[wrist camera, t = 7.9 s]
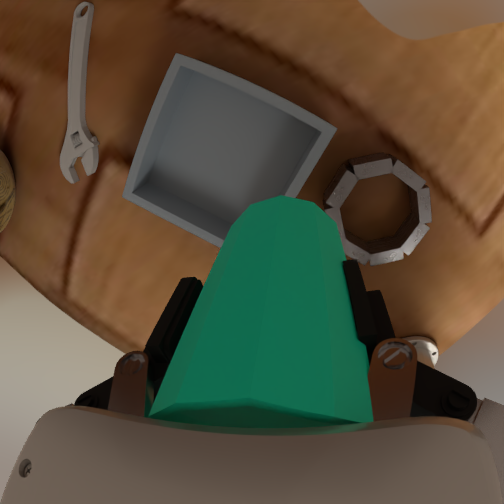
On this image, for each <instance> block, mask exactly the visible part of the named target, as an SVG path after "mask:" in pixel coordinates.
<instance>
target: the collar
mask: <svg viewBox="0 0 504 504" xmlns="http://www.w3.org/2000/svg"><path fill="white" fill-rule="evenodd" d="M348 161H349V165H350V168H349V167H347V166H346V165H344V164H342V165H341V167H340V168H339V170H338V172H337V173H336V175H335V176H334V178H333V180H332V181H331V183H330V184H329V186H328V187H327V189H326V190H325V192H324V198H325V200H323V205H324V209H325V213H326V214H327V215H328V216H329V217H330V218H331V219H333V220H334V221H335V222H336V224H337V227H338V231H339V234H340V238H341V242H342V245H343V249H344V253H345V254H346V255H347V256H349V257H351V258H353V259H357V261H358V262H360V263H361V264H363V265H365V264H366V263H367V262H368V261H369V263H370V266H374V265H379V264H383V263H388V262H392V261H396V260H401V259H403V252H404V253H406V254H407V255H410V253H411V252H412V251H413V249H414V248H415V247H416V246H417V244H418V243H419V242H420V240H421V239H422V238H423V237H424V235H425V234H426V233H427V231H428V230H429V229H430V228H429V227H428V226H427V224H426V223H430V222H432V219H431V204H430V192H429V187H428V186H427V185H425V183H426V181H425V180H423V179H422V178H421V177H420V176H418V175H417V174H416V173H415V172H413V171H412V170H411V169H410V168H408V167H407V166H406V165H404V164H403V163H402V162H400V161H399V160H398V159H396V158H395V157H393V156H392V155H390V154H389V155H388V156H387V155H386V154H385V153H378V154H373V155H368V156H363V157H358V158H353V159H349V160H348ZM389 173H393V174H394V175H395V176H397V177H398V178H399V179H401V180H402V181H403V182H405V183H406V184H407V185H408V190H409V199H410V208H411V213H410V214H409V216H408V217H407V219H406V220H405V221H404V223H403V224H402V225H401V227H400V228H399V230H398V231H397V232H396V234H395V235H394V236H391V237H386V238H382V239H377V240H373V241H368V242H365V241H364V240H362V239H360V238H359V237H357V236H355V235H354V234H352V233H350V232H349V231H347V230H345V229H344V228H343V223H342V219H341V214H340V209H339V208H340V207H341V205H342V204H343V202H344V201H345V199H346V198H347V196H348V195H349V193H350V192H351V190H352V189H353V187H354V186H355V184H356V183H357V181H358V180H360V179H365V178H369V177H374V176H379V175H384V174H389Z"/></svg>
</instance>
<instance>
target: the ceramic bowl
mask: <svg viewBox="0 0 504 504" xmlns="http://www.w3.org/2000/svg"><path fill="white" fill-rule="evenodd" d="M15 197H16V184H15V178H14V173H13V170H12V167H11V165H10V163H9V161H8V159H7V157H6V156H5V154H4V153H3V152H2V151H1V150H0V233H1V232H2V230H3V229H4V228H5V227H6V226H7V224H8V222H9V220H10V218H11V215H12V212H13V209H14V205H15Z"/></svg>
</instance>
